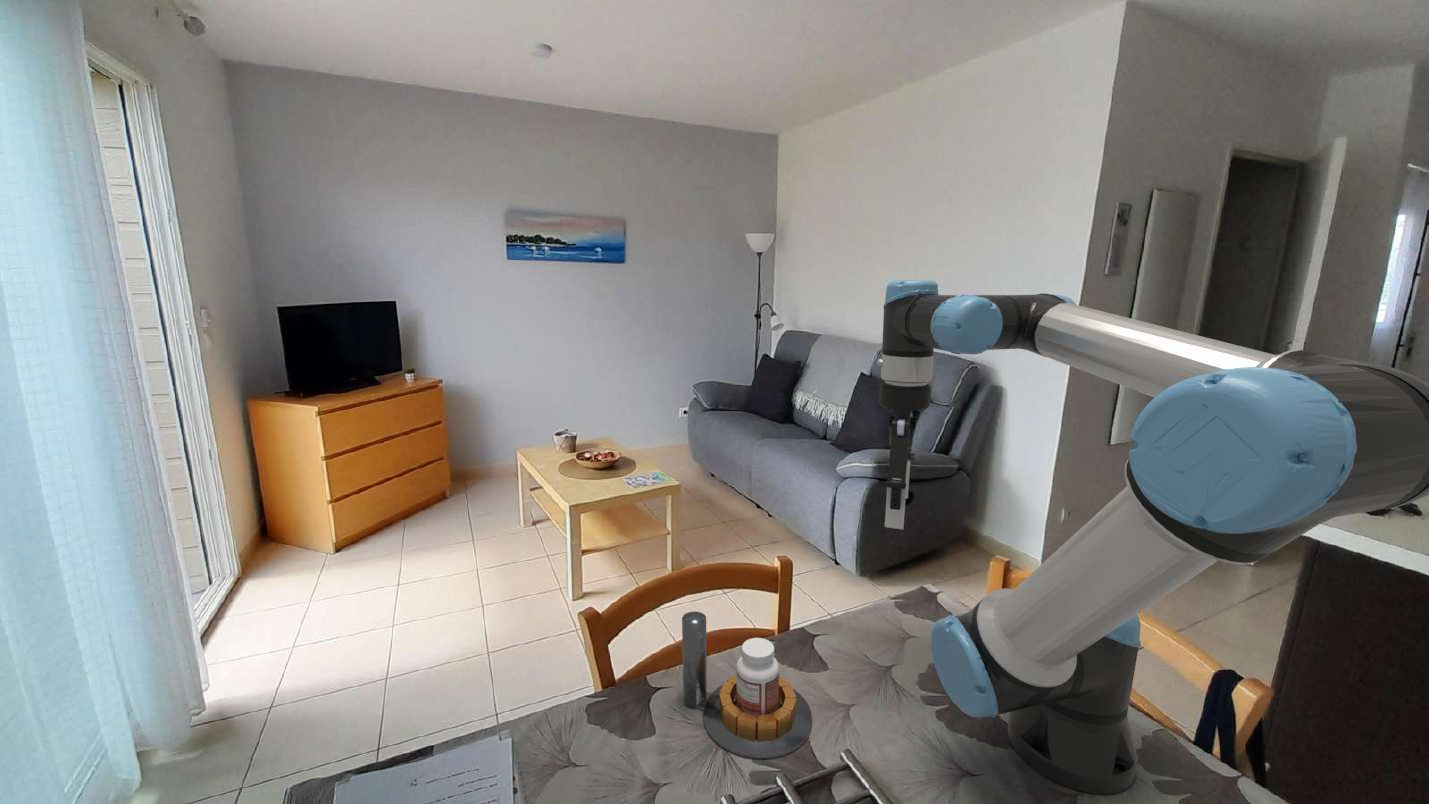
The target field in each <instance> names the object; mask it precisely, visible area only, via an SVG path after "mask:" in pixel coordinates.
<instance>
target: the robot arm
mask: <svg viewBox="0 0 1429 804" xmlns="http://www.w3.org/2000/svg"><path fill="white" fill-rule="evenodd" d="M884 299H885V300H884V304H883V306H882V307H883V308H882V309H883V324H882V345H881V346H882V347H881V349H882V350H881V351H882V354H881V358H880V359H879V358H878V360H877V361H876V362H877V363H876V364H877V365H878V366H881V368H880V369H881V370H880V378H881V379H882V380H883V381H881V383H880V384H879V397H878V399H879V400H878V403H879V405H880V406H881V407H883V408H885V409H887V410H890V409H892V410H893V411H894V415H890V419H889V421H888V430H889V431H888V432H889V436H888V437H889V438H888V446H889V447H890V449H889V450H890V451H889V459H888V472H887V480H886V481H884V480H883V481H882V488H886V501H885V516H884V517H885V518H884V528H890V529H895V530H896V529H897V530H904V528H905V527H904V524H905V511H906V499H909V487H910V486H909V485H910V473H911V472H910V471H911V461H914V460H915V453H911V452H912V447H913V443H914V441H913V440H914V436H915V433H916V428H917V417H913V413H914V411H915V412H916V411H917V412H919V411H924V410H927V409H929V407H930V404H931V403H930V402H931V392H932V389H931V388H932V386H930V384H929V383H930V382H931V381H932V380H933V369H934V356H935V355H934V353H935V352H934V349H935V350H941V351H945V352H950V353H951V354H954V355H962V354H963V355H964V354H965V355H979V354H982V353H985V352H986V351H988V350H989V351H991V350H992V351H995V350H996V351H997V350H1025V351H1029V352H1031V353H1034V354H1036V355H1038V356H1041V357H1043V358H1044V357H1046V358H1048V359H1050V360H1054V361H1056V362H1058V363H1061V364H1064V365H1065V366H1069V367H1072V368H1075V369H1077V370H1080V371H1083V372H1085V373H1087V374H1091V375H1093V376H1096V377H1098V378H1101V379H1104V380H1107V381H1109V382H1111V383H1115V384H1117V385H1121V386H1122V387H1125V388H1128V389H1131V390H1133V391H1135V392H1139V393H1141V394H1144V395H1147V396H1149V397H1150V398H1151V397H1152V398H1153V399H1151V401H1149V402H1148V404H1147V405H1146V406H1145V407H1144V408H1143V410H1142V411H1141V413H1140V414H1139V415H1138V417H1137V419H1136V421H1135V423H1134V426H1133V428H1132V431H1131V433H1130V434H1131V435H1130V439H1131V440H1132V441H1133V442H1134V443H1133V444H1134V445H1133V449H1130V450H1129V451H1128V456H1129V458H1128V459H1127V461H1126V462H1125V465H1124V473H1123V475H1124V480H1125V483H1126V487H1124V489H1122V490H1121V491H1120V492H1119V493H1118V494H1117V495H1115V496H1114V497H1113V499H1112V500H1110V501H1109V502H1108V503H1106V505H1105V506H1104V507H1102V508H1101V509H1100V510H1099V511H1098V512H1097V513H1096V514H1095V515H1093V516H1092V518H1090V519H1089V521H1087V522H1086V523H1085V524H1084V525H1083V526H1082V527H1080V528H1079V530H1077V531H1076V532H1075V533H1074V534H1073V535H1072V536H1071V537H1070V538H1069V539H1067V540H1066V541H1065V542H1064V543H1063V544H1062V545H1061V546H1060V547H1059V548H1058V549H1057V550H1055V552H1053V553H1052V554H1051V555H1050V556H1048V558H1046V560H1044V561H1043V562H1042V563H1041V564H1040V565H1039V566H1038V567H1037V568H1036V569H1035V570H1034V571H1033V572H1031V573H1030V574H1029V575H1028V576H1027V577H1026V578H1025V579H1024V580H1022V581H1021V582H1020V584H1018V585H1017V586H1016V587H1015V588H999V589H996V590H993V591H991V592H989V593H988V594H987V595H986V596H984V597H983V598H982V599H981V600H980V601H979V602H978V603H977V604H976V605H975V606H974V607H973V608H972V609H971V610H969V611H967V612H965V613H962V614H958V615H953V614H951V615H947V616H946V617H943V618H940V619H938V620H937V621H935V623H934V624H933V626H932V629H931V632H930V649H931V656H932V660H933V665H934V668H935V670H936V674H937V676H938V678H939V680H940V683H941V684H942V687H943V689H944V690H945V692H946V694H947V696H948V697H949V698H950V700H951V701H952V703H953V704H954V705H956V706H957V708H959V710H960V711H961V712H963V714H966V715H967V716H969V717H971V718H972V717H973V718H978V719H979V718H987V717H988V718H989V717H990V718H995V717H997V716H999V715H1002V714H1006V713H1007V714H1008V713H1009V714H1008V723H1007V736H1008V739H1009V742H1010V743H1011V746H1012V747H1013V749H1014V750H1015V751H1016V753H1017V754H1018V755H1019V757H1020V758H1022V760H1023V761H1025V763H1026V764H1028V765H1029V766H1030V767H1031V768H1033V769H1034V770H1036V771H1037V772H1038V773H1040V774H1041V775H1042V776H1044V777H1046V778H1048V779H1049V780H1051V781H1053V782H1055V783H1056V784H1057V783H1058V784H1059V785H1062V786H1064V787H1067V788H1069V789H1073V790H1077V791H1080V792H1083V793H1089V794H1094V795H1095V794H1096V795H1110V794H1116V793H1120V792H1122V791H1125V790H1126V789H1127V788H1129V787H1130V786H1131V785H1132V784H1133V782H1134V780H1135V776H1136V772H1137V766H1138V765H1137V764H1138V756H1137V751H1136V748H1135V743H1134V739H1133V735H1132V731H1131V726H1130V723H1129V719H1128V713H1129V712H1128V711H1129V707H1130V701H1131V696H1132V690H1133V684H1134V678H1135V671H1136V666H1137V660H1138V659H1137V658H1138V653H1139V648H1141V645H1142V643H1141V637H1140V636H1141V629H1142V628H1141V625H1142V624H1141V621H1140V617H1139V616H1138V615H1139V614H1140V613H1141V612H1143V611H1145V610H1146V609H1148V608H1149V607H1151V606H1153V605H1154V604H1155V603H1157V602H1158V601H1160V600H1162V599H1163V598H1165V597H1166V596H1167V595H1168V594H1170V593H1172V592H1173V591H1175V590H1176V589H1178V588H1179V587H1181V586H1182V585H1183V584H1185V583H1187V582H1188V581H1190V580H1192V578H1194V577H1195V576H1197V575H1198V574H1200V573H1203V571H1205V570H1206V569H1207V568H1209V567H1211V566H1212V565H1214V564H1215V563H1217V562H1221V563H1225V564H1230V565H1239V566H1240V565H1241V566H1242V565H1245V566H1246V565H1252V564H1255V563H1258V562H1260V561H1262V560H1264V559H1265V558H1267V557H1268V556H1270V555H1271V554H1274V553H1275V552H1276V551H1278V550H1279V549H1281V548H1283V547H1285V546H1286V545H1288V544H1290V543H1291V542H1292V541H1293V542H1294V540H1296V539H1298V538H1300V536H1303V535H1304V534H1306V533H1307V532H1309V531H1310V530H1313V529H1314V528H1315V527H1317V526H1319V525H1321V524H1323V523H1326V522H1327V521H1329V520H1333V519H1335V518H1337V517H1342V516H1345V517H1346V516H1349V515H1355V514H1357V515H1358V514H1364V513H1368V512H1378V511H1384V510H1390V509H1394V508H1398V507H1401V506H1406V505H1409V504H1412V503H1414V502H1416V501H1418V500H1420V499H1423V498H1425V497H1427V496H1428V495H1429V383H1428V382H1426V381H1425V380H1423V379H1422V378H1420V377H1418V376H1416V375H1415V374H1411V373H1410V372H1406V371H1403V370H1401V369H1398V368H1395V367H1391V366H1385V365H1380V364H1375V363H1368V362H1363V361H1357V360H1353V359H1352V360H1351V359H1346V358H1342V357H1336V356H1330V355H1326V354H1322V353H1318V352H1314V351H1310V350H1304V349H1291V350H1288V351H1284V352H1282V353H1280V354H1272V353H1270V352H1266V351H1265V352H1264V351H1261V350H1257V349H1253V348H1248V347H1245V346H1241V345H1237V344H1233V343H1229V342H1225V341H1221V340H1218V339H1213V338H1209V337H1205V336H1202V335H1197V334H1193V333H1190V332H1185V331H1181V330H1177V329H1173V328H1169V327H1166V326H1162V325H1157V324H1154V323H1150V322H1146V321H1142V320H1139V319H1134V318H1130V317H1126V316H1121V315H1119V314H1115V313H1109V312H1106V311H1102V310H1098V309H1095V308H1094V309H1093V308H1090V307H1087V306H1083V305H1078V304H1076V303H1075V301H1073V299H1072V298H1070V297H1068V296H1066V295H1062V294H1054V293H1053V294H1052V293H1043V292H1042V293H1041V292H1040V293H1038V294H1037V293H1036V294H1000V295H999V294H968V295H967V294H957V295H956V294H952V295H951V294H948V295H947V294H939V284H938V283H937V282H936V281H935V280H892V281H890V282H889V283H888V284H887V285H886V288H885V298H884Z"/></svg>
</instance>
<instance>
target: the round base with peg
mask: <svg viewBox="0 0 1429 804" xmlns="http://www.w3.org/2000/svg"><path fill="white" fill-rule="evenodd" d="M681 622H682V623H681V624H682V625H681V626H682V627H681V628H682V629H681V634H682V638H681V639H682V641H681V642H682V697H683V699H682V702H683V704H684V705H685V707H687V708H689V709H693V710H695V709H696V710H700V711H703V714H702V715H703V724H704V728H705V731H706V732H707V734H708V735H709V737H710V738H711V739H712V740H713V742H714V743H715V744H716V745H717V746H719V747H720V748H722V749H723V750H725V751H726V752H728V753H731V754H733V755H735V756H737V757H742V758H744V759H745V758H746V759H751V760H752V759H753V760H771V759H776V758H777V759H778V758H781V757H783V756H787V755H789V754H791V753H793V752H795V751H796V750H798V749H800V747H802V746H803V745H804V744H805V742H806V741H807V739H808V738H809V736H810V734H811V731H812V727H813V715H812V711H811V708H810V706H809V704H808V701H806V699H805V698H804V696H803V695H802V694H801V693H800V692H798V691H797V690H796V689H795V688H793V686H792V685H791V683H789V682H788V681H787V680H785V679H784V678H782V677H781V676H780V675H779V709H778V710H777V711H775V712H774V713H772V714H765V715H753V714H749V713H745V712H742V711H741V710H740V709H738V708H737V673H736V674H734V675H733V676H731V677H729V678H727V679H726V681H724V683H723V684H722V685H721V686H719V687H717V688H716V689H715V690H714V691H713V692H712V693H711V692H707V687H708V686H707V675H708V674H707V672H708V671H707V616H706V614H704V613H703V612H701V611H689V612H686V613H684V614H683V615H682V617H681Z"/></svg>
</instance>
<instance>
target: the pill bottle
mask: <svg viewBox="0 0 1429 804" xmlns="http://www.w3.org/2000/svg"><path fill="white" fill-rule="evenodd" d="M736 662H737V663H736V674H737V708H738V709H740V710H741V711H742V712H745V713H749V714H753V715H765V714H772V713H774V712H775V711H777V710H778V709H779V676H780V665H779V663H778V660H777V659H776V657H775V646H774V644H773V643H772V642H771V641H770V640H768V639H766V638H762V637H752V638H748V639H746V640H745V641H744V642H743V643H742V646H741V656H740V657H739V658H738V660H737V661H736Z"/></svg>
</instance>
